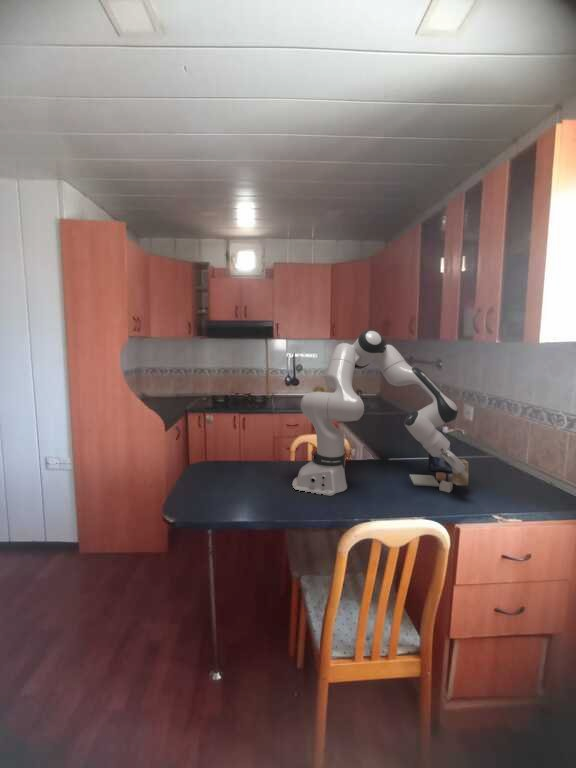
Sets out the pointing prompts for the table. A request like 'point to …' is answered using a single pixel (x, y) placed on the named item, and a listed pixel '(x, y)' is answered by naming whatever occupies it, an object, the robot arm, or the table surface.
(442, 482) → the off-white plastic block
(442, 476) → the terracotta puck
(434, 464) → the dark purple camera
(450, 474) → the grey plastic block
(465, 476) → the beech block
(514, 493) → the table surface
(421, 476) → the coaster
